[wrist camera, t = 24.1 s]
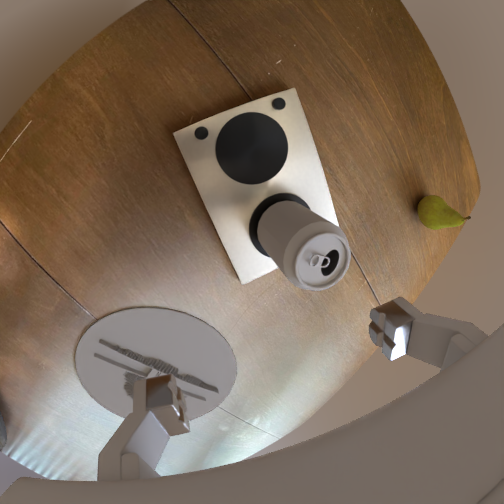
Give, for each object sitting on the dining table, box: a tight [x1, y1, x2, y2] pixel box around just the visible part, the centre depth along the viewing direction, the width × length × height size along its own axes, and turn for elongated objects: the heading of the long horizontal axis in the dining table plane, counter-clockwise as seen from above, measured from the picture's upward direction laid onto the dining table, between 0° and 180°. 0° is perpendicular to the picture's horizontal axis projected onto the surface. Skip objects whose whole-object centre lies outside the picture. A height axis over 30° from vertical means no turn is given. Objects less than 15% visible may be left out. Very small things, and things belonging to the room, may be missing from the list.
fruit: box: [418, 195, 471, 230], centre depth 41 cm, size 6×6×12 cm
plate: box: [75, 307, 237, 420], centre depth 45 cm, size 28×28×1 cm
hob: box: [173, 88, 339, 285], centre depth 37 cm, size 22×16×2 cm
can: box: [257, 201, 351, 291], centre depth 34 cm, size 8×8×12 cm
